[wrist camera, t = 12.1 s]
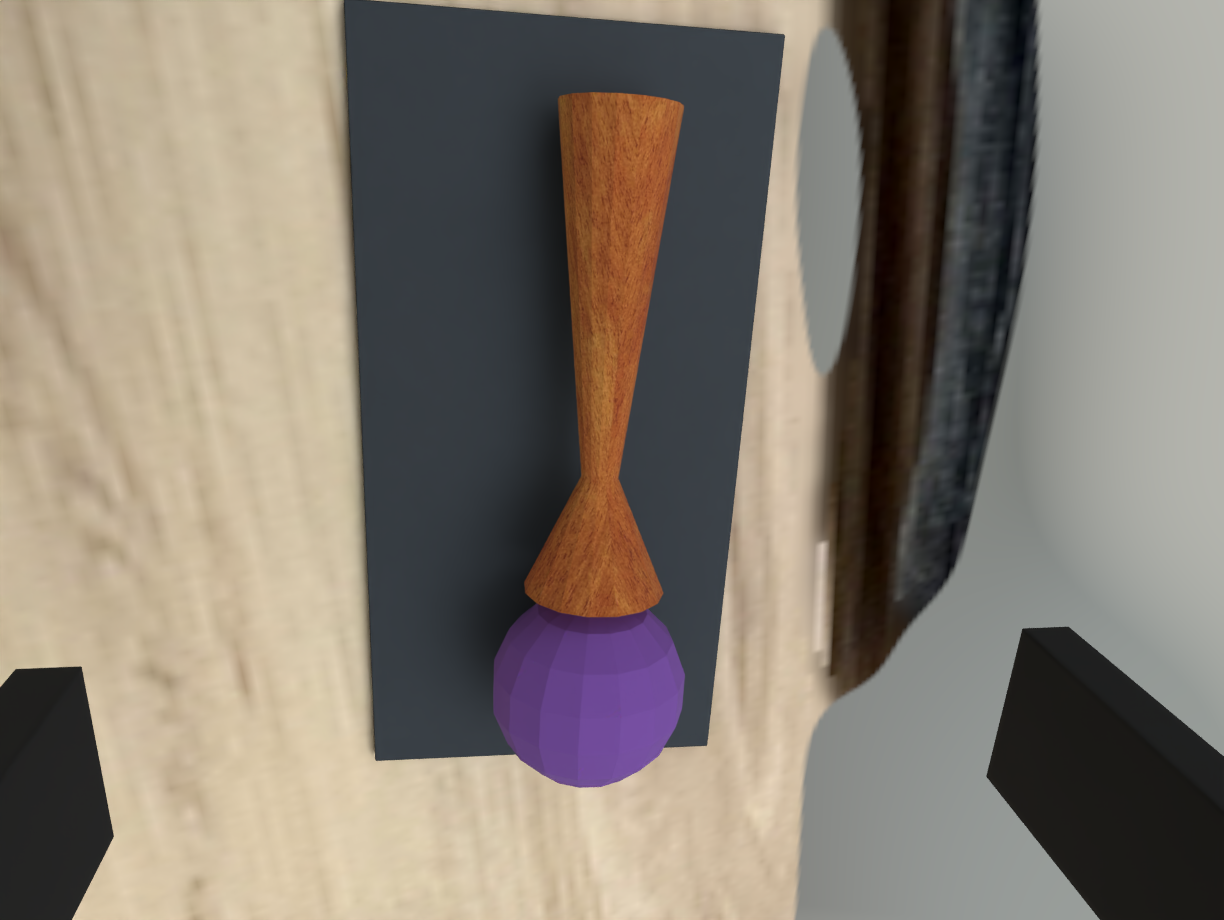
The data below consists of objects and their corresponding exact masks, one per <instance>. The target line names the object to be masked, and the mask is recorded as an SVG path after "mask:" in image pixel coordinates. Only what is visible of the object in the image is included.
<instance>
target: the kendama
mask: <svg viewBox="0 0 1224 920" xmlns="http://www.w3.org/2000/svg"><path fill="white" fill-rule="evenodd" d="M558 110H559V126H560V142H561V158H562V174H563V190H564V206H565V222H566V238H567V254H568V270H569V286H570V302H571V318H572V334H573V350H574V366H575V382H576V398H577V414H578V430H579V446H580V462H581V477H580V479H579V481H578V483H577V485H576V487H575V488H574V490H573V492H572V494H571V496H570V498H569V500H568V501H567V503H566V505H565V507H564V509H563V511H562V513H561V515H560V516H559V518H558V520H557V522H556V524H555V526H554V528H553V529H552V531H551V533H550V535H549V537H548V539H547V541H546V543H545V544H544V546H543V548H542V550H541V552H540V554H539V556H538V557H537V559H536V561H535V563H534V565H533V567H532V569H531V570H530V572H529V574H528V576H527V578H526V580H525V582H524V585H525V593H526V594H527V595H528V596H529V597H530V598H531V599H532V600H534V601H535V602H536V604H535V605H534V606H532V607H531V608H530V609H528V610H527V611H526V612H525V613H523V614H522V615H521V616H520V617H519V618H518V619H517V620H516V621H515V623H514V624H513V625H512V626H511V627H510V628H509V630H508V632H507V634H506V636H505V638H504V640H503V642H502V644H501V646H500V649H499V651H498V653H497V655H496V657H495V659H494V685H493V709H494V715H495V717H496V720H497V722H498V724H499V726H500V728H501V730H502V733H503V735H504V737H505V739H506V741H507V743H508V744H509V746H510V747H511V748H512V750H513V751H514V752H515V753H516V755H517V756H518V757H519V758H520V760H521V761H523V762H524V763H526V764H527V765H529V766H530V767H532V768H533V769H535V770H536V771H538V772H539V773H541V774H542V775H544V776H546V777H548V778H550V779H552V780H554V781H555V782H557V783H560V784H565V785H570V786H574V787H579V788H580V787H602V786H605V785H608V784H611V783H615V782H618V781H620V780H622V779H624V778H626V777H628V776H630V775H632V774H634V773H636V772H638V771H639V770H641V769H642V768H644V767H645V766H646V765H647V764H649V763H650V762H651V761H653V760H654V759H655V758H656V757H658V756H659V754H660V753H661V751H662V749H663V748H664V746H665V744H666V743H667V741H668V739H669V738H670V736H671V734H672V733H673V731H674V729H675V727H676V724H677V722H678V719H679V716H680V713H681V710H682V703H683V692H684V680H685V673H684V671H683V668H682V665H681V662H680V659H679V657H678V654H677V651H676V648H675V646H674V643H673V640H672V638H671V636H670V633H669V631H668V629H667V627H666V626H665V625H664V624H663V623H662V622H661V621H660V620H659V619H658V618H657V617H656V616H655V615H654V614H653V613H652V612H651V611H650V610H649V609H648V608H650V607H652V606H654V605H656V604H658V602H659V600H660V598H661V597H662V595H663V591H662V588H661V585H660V583H659V580H658V578H657V575H656V573H655V570H654V568H653V565H652V563H651V560H650V558H649V555H648V552H647V550H646V547H645V545H644V542H643V540H642V537H641V535H640V532H639V530H638V527H637V525H636V522H635V519H634V517H633V514H632V512H631V509H630V507H629V504H628V502H627V499H626V497H625V494H624V492H623V489H622V486H621V484H620V481H619V479H618V477H619V472H620V466H621V460H622V455H623V449H624V443H625V438H626V432H627V427H628V421H629V415H630V410H631V404H632V398H633V393H634V387H635V381H636V376H637V370H638V364H639V359H640V353H641V348H642V342H643V336H644V331H645V325H646V319H647V314H648V308H649V302H650V297H651V291H652V285H653V280H654V274H655V269H656V263H657V257H658V252H659V246H660V240H661V235H662V229H663V223H664V218H665V212H666V206H667V201H668V195H669V190H670V184H671V178H672V173H673V167H674V161H675V156H676V150H677V144H678V139H679V133H680V127H681V122H682V116H683V111H684V105H682V104H681V103H680V102H677V101H673V100H670V99H666V98H660V97H653V96H647V95H637V94H625V93H601V92H588V93H571V94H566V95H562V96H559V98H558Z"/></svg>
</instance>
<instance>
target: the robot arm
mask: <svg viewBox="0 0 1224 920" xmlns="http://www.w3.org/2000/svg"><path fill="white" fill-rule="evenodd" d="M987 778H988V779H989V780H990V782H991V783H992V784H993V785H994V787H995V788H996V789H997V790H998V792H999V793H1000V794H1001V796H1002V797H1003V798H1004V799H1005V801H1006V802H1007V803H1008V804H1009V806H1010V807H1011V808H1012V809H1013V811H1014V812H1015V813H1016V814H1017V816H1018V817H1019V818H1020V820H1021V821H1022V822H1023V823H1024V825H1025V826H1026V827H1027V828H1028V829H1029V831H1030V832H1031V833H1032V835H1033V836H1034V837H1035V838H1036V840H1037V841H1038V842H1039V843H1040V845H1041V846H1042V847H1043V848H1044V850H1045V851H1046V852H1047V854H1048V855H1049V856H1050V857H1051V859H1052V860H1053V861H1054V862H1055V864H1056V865H1057V866H1058V867H1059V869H1060V870H1061V871H1062V872H1063V874H1064V875H1065V876H1066V877H1067V879H1068V880H1069V881H1070V882H1071V884H1072V885H1073V886H1074V887H1075V889H1076V890H1077V891H1078V892H1079V894H1080V895H1081V896H1082V898H1083V899H1084V900H1085V901H1086V903H1087V904H1088V905H1089V906H1090V908H1091V909H1092V910H1093V911H1094V913H1095V914H1096V915H1097V916H1098V918H1099V919H1100V920H1224V756H1223V755H1221V754H1220V753H1219V752H1218V751H1217V750H1215V749H1214V748H1213V747H1212V746H1211V745H1209V744H1208V743H1207V742H1206V741H1205V740H1203V739H1202V738H1201V737H1200V736H1198V735H1197V734H1196V733H1195V732H1194V731H1193V730H1191V729H1190V728H1189V727H1188V726H1187V725H1185V724H1184V723H1183V722H1182V721H1181V720H1179V719H1178V718H1177V717H1176V716H1175V715H1173V714H1172V713H1171V712H1170V711H1169V710H1168V709H1166V708H1165V707H1164V706H1163V705H1162V704H1160V703H1159V702H1158V701H1157V700H1155V699H1154V698H1153V697H1152V696H1151V695H1149V694H1148V693H1147V692H1146V691H1145V690H1144V689H1142V688H1141V687H1140V686H1139V685H1138V684H1136V683H1135V682H1134V681H1133V680H1131V679H1130V678H1129V677H1128V676H1127V675H1126V674H1124V673H1123V672H1122V671H1121V670H1119V669H1118V668H1117V667H1116V666H1115V665H1114V664H1112V663H1111V662H1110V661H1109V660H1108V659H1106V658H1105V657H1104V656H1103V655H1102V654H1100V653H1099V652H1098V651H1097V650H1096V649H1094V648H1093V647H1092V646H1091V645H1090V644H1088V643H1087V642H1086V641H1085V640H1084V639H1082V638H1081V637H1080V636H1079V635H1078V634H1077V633H1075V632H1074V631H1073V630H1072V629H1071V628H1069V627H1051V628H1027V629H1022V633H1021V637H1020V641H1019V645H1018V649H1017V653H1016V657H1015V662H1014V666H1013V670H1012V674H1011V678H1010V682H1009V686H1008V690H1007V694H1006V699H1005V703H1004V707H1003V711H1002V715H1001V719H1000V723H999V727H998V731H997V735H996V740H995V743H994V748H993V752H992V756H991V760H990V764H989V768H988V773H987ZM113 837H114V835H113V830H112V824H111V819H110V814H109V809H108V803H107V798H106V793H105V788H104V782H103V777H102V772H101V767H100V761H99V756H98V751H97V746H96V740H95V735H94V730H93V725H92V719H91V714H90V709H89V704H88V698H87V693H86V688H85V683H84V677H83V672H82V667H58V668H33V669H15V671H14V672H13V673H12V674H11V675H10V677H9V678H8V679H7V680H6V681H5V682H4V684H3V685H2V686H1V687H0V920H72V918H73V916H74V914H75V912H76V910H77V908H78V906H79V905H80V903H81V901H82V899H83V897H84V895H85V893H86V891H87V889H88V887H89V885H90V883H91V881H92V879H93V877H94V875H95V873H96V871H97V869H98V867H99V865H100V863H101V861H102V859H103V857H104V855H105V853H106V851H107V849H108V847H109V845H110V843H111V841H112V839H113Z"/></svg>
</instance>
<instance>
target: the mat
mask: <svg viewBox="0 0 1224 920" xmlns="http://www.w3.org/2000/svg"><path fill="white" fill-rule="evenodd" d="M344 15H345V39H346V64H347V88H348V112H349V136H350V160H351V184H352V208H353V232H354V256H355V280H356V304H357V329H358V353H359V377H360V401H361V425H362V449H363V473H364V497H365V521H366V545H367V569H368V594H369V618H370V642H371V666H372V690H373V714H374V738H375V760H376V761H382V760H404V759H426V758H448V757H470V756H492V755H514V754H516V753H515V752H514V751H513V750H512V748H511V747H510V746H509V744H508V743H507V741H506V739H505V737H504V735H503V733H502V730H501V728H500V726H499V724H498V722H497V720H496V717H495V715H494V709H493V685H494V659H495V657H496V655H497V653H498V651H499V649H500V646H501V644H502V642H503V640H504V638H505V636H506V634H507V632H508V630H509V628H510V627H511V626H512V625H513V624H514V623H515V621H516V620H517V619H518V618H519V617H520V616H521V615H522V614H523V613H525V612H526V611H527V610H528V609H530V608H531V607H532V606H534V605H535V604H536V602H535V601H534V600H532V599H531V598H530V597H529V596H528V595H527V594H526V593H525V585H524V582H525V580H526V578H527V576H528V574H529V572H530V570H531V569H532V567H533V565H534V563H535V561H536V559H537V557H538V556H539V554H540V552H541V550H542V548H543V546H544V544H545V543H546V541H547V539H548V537H549V535H550V533H551V531H552V529H553V528H554V526H555V524H556V522H557V520H558V518H559V516H560V515H561V513H562V511H563V509H564V507H565V505H566V503H567V501H568V500H569V498H570V496H571V494H572V492H573V490H574V488H575V487H576V485H577V483H578V481H579V479H580V477H581V462H580V446H579V430H578V414H577V398H576V382H575V366H574V350H573V334H572V318H571V302H570V286H569V270H568V254H567V238H566V222H565V206H564V190H563V174H562V158H561V142H560V126H559V110H558V98H559V96H562V95H566V94H571V93H588V92H601V93H625V94H637V95H647V96H653V97H660V98H666V99H670V100H673V101H677V102H680V103H681V104H682V105H684V111H683V116H682V122H681V127H680V133H679V139H678V144H677V150H676V156H675V161H674V167H673V173H672V178H671V184H670V190H669V195H668V201H667V206H666V212H665V218H664V223H663V229H662V235H661V240H660V246H659V252H658V257H657V263H656V269H655V274H654V280H653V285H652V291H651V297H650V302H649V308H648V314H647V319H646V325H645V331H644V336H643V342H642V348H641V353H640V359H639V364H638V370H637V376H636V381H635V387H634V393H633V398H632V404H631V410H630V415H629V421H628V427H627V432H626V438H625V443H624V449H623V455H622V460H621V466H620V472H619V477H618V479H619V481H620V484H621V486H622V489H623V492H624V494H625V497H626V499H627V502H628V504H629V507H630V509H631V512H632V514H633V517H634V519H635V522H636V525H637V527H638V530H639V532H640V535H641V537H642V540H643V542H644V545H645V547H646V550H647V552H648V555H649V558H650V560H651V563H652V565H653V568H654V570H655V573H656V575H657V578H658V580H659V583H660V585H661V588H662V591H663V595H662V597H661V598H660V600H659V602H658V604H656V605H654V606H652V607H650V608H648V609H649V610H650V611H651V612H652V613H653V614H654V615H655V616H656V617H657V618H658V619H659V620H660V621H661V622H662V623H663V624H664V625H665V626H666V627H667V629H668V631H669V633H670V636H671V638H672V640H673V643H674V646H675V648H676V651H677V654H678V657H679V659H680V662H681V665H682V668H683V671H684V673H685V680H684V692H683V703H682V710H681V713H680V716H679V719H678V722H677V724H676V727H675V729H674V731H673V733H672V734H671V736H670V738H669V739H668V741H667V743H666V744H665V746H664V748H667V747H689V746H707V741H708V732H709V723H710V714H711V705H712V696H713V687H714V677H715V668H716V659H717V650H718V641H719V632H720V623H721V614H722V605H723V595H724V586H725V577H726V568H727V559H728V550H729V541H730V532H731V523H732V513H733V504H734V495H735V486H736V477H737V468H738V459H739V450H740V441H741V432H742V422H743V413H744V404H745V395H746V386H747V377H748V368H749V359H750V350H751V340H752V331H753V322H754V313H755V304H756V295H757V286H758V277H759V268H760V258H761V249H762V240H763V231H764V222H765V213H766V204H767V195H768V186H769V176H770V167H771V158H772V149H773V140H774V131H775V122H776V113H777V104H778V94H779V85H780V76H781V67H782V58H783V49H784V40H785V35H784V34H773V33H760V32H748V31H736V30H724V29H712V28H699V27H687V26H675V25H663V24H651V23H638V22H626V21H614V20H602V19H590V18H578V17H565V16H553V15H541V14H529V13H517V12H504V11H492V10H480V9H468V8H456V7H443V6H431V5H419V4H407V3H395V2H383V1H370V0H344Z"/></svg>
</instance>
